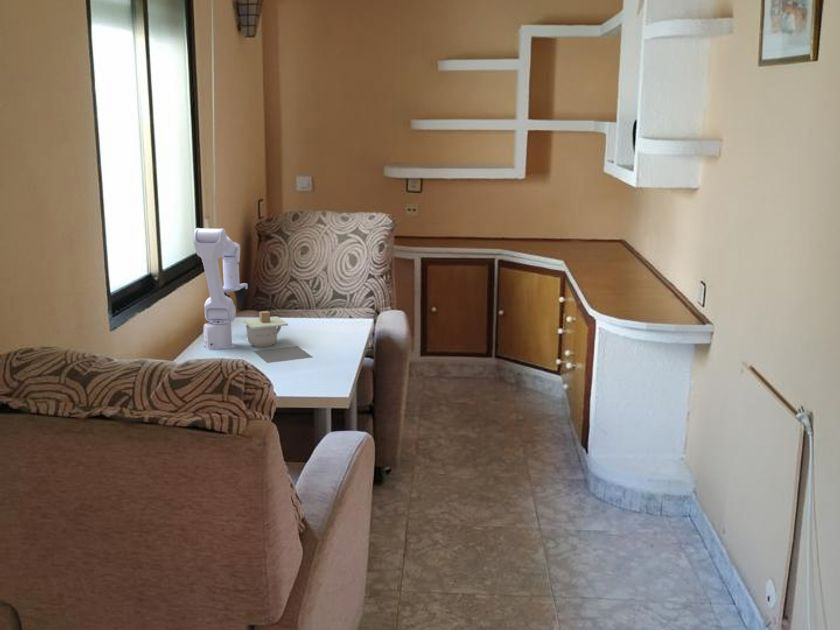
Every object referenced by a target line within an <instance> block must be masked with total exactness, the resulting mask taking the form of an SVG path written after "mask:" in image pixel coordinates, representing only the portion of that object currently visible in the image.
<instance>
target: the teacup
mask: <svg viewBox="0 0 840 630" xmlns="http://www.w3.org/2000/svg"><path fill="white" fill-rule="evenodd" d="M245 327H246V336H247V341H248V343H249V344H250V345H252V346H253V347H255V348H266V347H271V346H273V345H274V343H275V342H277V339H278V334H279V332H280V331H281V329H282V326H279V327H269V328H259V329H251V328H250V327H249V326H247V325H246V324H245Z"/></svg>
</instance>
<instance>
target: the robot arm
mask: <svg viewBox="0 0 840 630" xmlns="http://www.w3.org/2000/svg"><path fill="white" fill-rule="evenodd" d="M193 245H194V248H195V249H194V251H195V253H196V255H197V257H200V259H201V262H202V263H203V264H202V265H203V269H204V274H205V279H206V282H207V283H206V284H207V288H208V292H209V297H208V298H207V299H206V300H205V302H204V305H203V306H204V319H205V320H206V321H208V323H204V324H203V346H204V347H205V348H206V349H207V350H208V351H213V350H221V349H232V348H236V345H234V343H233V338H232V337H233V335H232V332H233V331H232V322H234V320H235V319H236V315H237V310H243V308H244V304H245V300H246V297H247V295H248V294H249V290H248V289H249V287H248V283H245V282H243V283H240V265H239V263H240V259H241V257H240V256H241V245H240V243H238V242H235V241H233V240H232V239H231V238H230V237H229V236H228V235H227V231H226V229H224V228H200V227H197V228H195V230H194V232H193ZM219 258H222V275H223V281H222V276H221V270H220V265H219V261H218V260H219ZM232 292H233V293H234V295H235V300H236V305H235V303H234V301H233V299H232V298H230V297H231V295H230V294H229V293H232Z"/></svg>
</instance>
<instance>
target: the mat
mask: <svg viewBox="0 0 840 630" xmlns="http://www.w3.org/2000/svg"><path fill="white" fill-rule="evenodd" d="M253 352H254V354H256V355H257V356H258V357H260V359H262V360H263V361H265V363H267V364H269V363H277V362H285V361H286V362H287V361H295V360H301V359H311V358H313V356H312V355H311V354H309V353H308V352H306V350H304V349H302V348H301V347H300V346H298V345H295V346H289V347H288V346H286V347H277V348H269V349H260V350H253Z"/></svg>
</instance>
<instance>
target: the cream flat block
mask: <svg viewBox="0 0 840 630" xmlns="http://www.w3.org/2000/svg"><path fill="white" fill-rule="evenodd" d="M258 314H259V317H257V318H246V319H241V322H242V323H243V324H245V326H246V325H247V326H249V327H250V328H251V329H259V328H269V327H279V326H281V327H285V326H289V323H288V322H287V321H285V320H283V319H282V318H281V317H278V316H271V312H270V311H268V310H262V311H259V313H258Z"/></svg>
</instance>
